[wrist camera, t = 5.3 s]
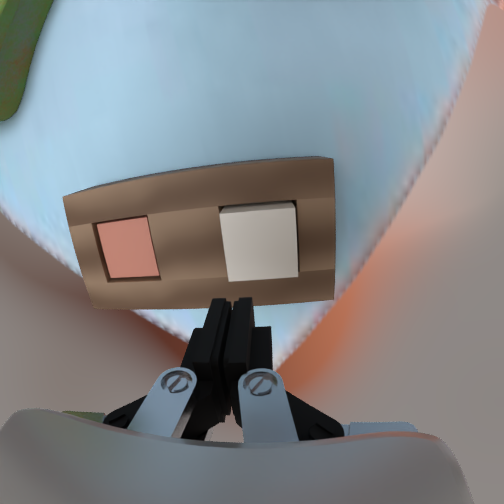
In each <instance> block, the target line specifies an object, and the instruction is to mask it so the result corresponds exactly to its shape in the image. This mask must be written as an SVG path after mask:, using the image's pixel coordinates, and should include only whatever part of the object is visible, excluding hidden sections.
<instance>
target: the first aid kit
mask: <svg viewBox="0 0 504 504" xmlns="http://www.w3.org/2000/svg"><path fill="white" fill-rule="evenodd" d="M52 3H53V0H0V121H5V120H6V119H8V118H10V117H11V116H12V115H13V114H14V113H15V112H16V111H17V109H18V107H19V104H20V102H21V99H22V96H23V92H24V89H25V85H26V80H27V76H28V72H29V68H30V64H31V61H32V57H33V54H34V51H35V47H36V44H37V41H38V38H39V35H40V32H41V30H42V27H43V24H44V22H45V19H46V17H47V14H48V12H49V10H50V7H51V5H52Z"/></svg>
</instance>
